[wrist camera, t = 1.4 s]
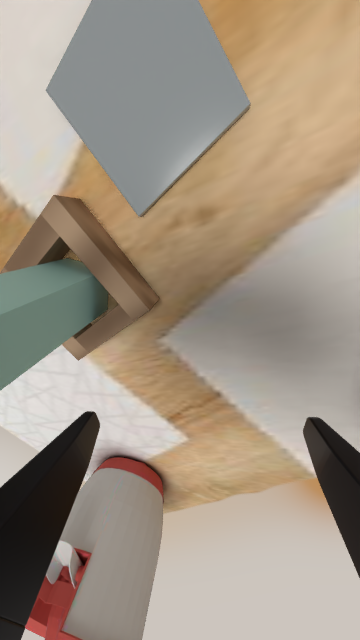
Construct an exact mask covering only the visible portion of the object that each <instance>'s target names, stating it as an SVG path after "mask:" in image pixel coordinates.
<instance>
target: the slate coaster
mask: <svg viewBox="0 0 360 640" xmlns="http://www.w3.org/2000/svg"><path fill="white" fill-rule="evenodd" d="M46 92H47V93H48V94H49V96H50V97H51V98H52V100H53V101H54V102H55V104H56V105H57V107H58V108H59V109H60V111H61V112H62V113H63V115H64V116H65V117H66V119H67V120H68V121H69V123H70V124H71V125H72V127H73V128H74V130H75V131H76V132H77V134H78V135H79V136H80V138H81V139H82V140H83V142H84V143H85V144H86V146H87V147H88V149H89V150H90V151H91V153H92V154H93V155H94V157H95V158H96V159H97V161H98V162H99V163H100V165H101V166H102V168H103V169H104V170H105V172H106V173H107V174H108V176H109V177H110V178H111V180H112V181H113V182H114V184H115V185H116V186H117V188H118V189H119V191H120V192H121V193H122V195H123V196H124V197H125V199H126V200H127V201H128V203H129V204H130V205H131V207H132V208H133V210H134V211H135V212H136V214H137V215H138V216H139V217H142V216H143V215H144V214H145V213H146V212H147V211H148V210H149V209H150V208H151V207H152V206H153V205H154V204H155V203H156V202H157V201H158V200H159V199H160V198H161V197H162V196H163V195H164V194H165V193H166V191H167V190H168V189H169V188H170V187H171V186H172V185H173V184H174V183H175V182H176V181H177V180H178V179H179V178H180V177H181V176H182V175H183V174H184V173H185V172H186V171H187V170H188V169H189V168H190V167H191V166H192V165H193V164H194V163H195V162H196V161H197V160H198V159H199V158H200V157H201V156H202V155H203V154H204V153H205V152H206V151H207V150H208V149H209V148H210V147H211V146H212V145H213V144H214V143H215V142H216V141H217V140H218V139H219V138H220V137H221V136H222V135H223V134H224V133H225V132H226V131H227V130H228V129H229V128H230V127H231V126H232V125H233V124H234V123H235V122H236V121H237V120H238V119H239V118H240V117H241V116H242V115H243V114H244V113H245V112H246V111H247V110H248V109H249V108H250V101H249V99H248V97H247V96H246V94H245V92H244V90H243V88H242V86H241V84H240V82H239V80H238V78H237V76H236V74H235V72H234V70H233V68H232V66H231V64H230V62H229V60H228V58H227V56H226V54H225V52H224V50H223V48H222V46H221V44H220V42H219V40H218V38H217V36H216V34H215V32H214V30H213V28H212V26H211V24H210V22H209V21H208V19H207V17H206V15H205V13H204V11H203V9H202V7H201V5H200V3H199V1H198V0H92V1H91V3H90V5H89V7H88V9H87V11H86V13H85V15H84V17H83V19H82V21H81V22H80V24H79V26H78V28H77V30H76V32H75V34H74V36H73V38H72V40H71V42H70V44H69V46H68V48H67V50H66V52H65V54H64V56H63V58H62V59H61V61H60V63H59V65H58V67H57V69H56V71H55V73H54V75H53V77H52V79H51V81H50V83H49V85H48V87H47V89H46Z"/></svg>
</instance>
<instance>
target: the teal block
mask: <svg viewBox="0 0 360 640" xmlns="http://www.w3.org/2000/svg"><path fill="white" fill-rule="evenodd" d="M106 310H108V291H107V290H106V289H105V288H104V286H103V285H102V284H101V283H100V282H99V281H98V280H97V278H96V277H95V276H94V275H93V274H92V273H91V272H90V270H89V269H88V268H87V267H86V266H85V265H84V263H83V262H80V261H77V260H73V259H69V258H65V259H61V260H57V261H53V262H49V263H44V264H40V265H36V266H32V267H27V268H23V269H19V270H15V271H10V272H6V273H2V274H0V390H2V389H3V388H4V387H6V386H7V385H8V384H10V383H11V382H12V381H14V380H15V379H16V378H18V377H19V376H20V375H22V374H23V373H24V372H26V371H27V370H28V369H29V368H31V367H32V366H33V365H35V364H36V363H37V362H39V361H40V360H41V359H43V358H44V357H45V356H47V355H48V354H49V353H51V352H52V351H53V350H55V349H56V348H57V347H59V346H60V345H61V344H63V343H64V342H65V341H67V340H68V339H69V338H71V337H72V336H73V335H75V334H76V333H77V332H78V331H80V330H81V329H82V328H84V327H85V326H86V325H88V324H89V323H90V322H92V321H93V320H94V319H96V318H97V317H98V316H100V315H101V314H102V313H104V312H105V311H106Z"/></svg>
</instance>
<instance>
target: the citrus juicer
mask: <svg viewBox="0 0 360 640" xmlns="http://www.w3.org/2000/svg"><path fill="white" fill-rule="evenodd" d="M163 503H164V498H163V486H162V481H161V479H160V478H159V476H158V475H157V474H156V473H155V472H154V471H153V470H151V469H150V468H149V467H147V465H146V464H145V463H143V462H137V461H134V460H131V459H127V458H120V457H115V458H110V459H107V460H106V461H105V462H104V463H102V464H101V465H100V466H99V467H98V468H97V469H96V470H95V471H94V472H93V474H92V476H91V477H90V478H89V479H88V481H87V482H86V483H85V484H84V485H83V487H82V488H81V489H80V491H79V492H78V494H77V497H76V499H75V502H74V504H73V507H72V510H71V512H70V515H69V517H68V520H67V522H66V525H65V527H64V530H63V533H62V535H61V538H60V540H59V543H58V545H57V548H56V550H55V553H54V555H53V558H52V561H51V563H50V566H49V568H48V571H47V573H46V576H45V578H44V581H43V584H42V586H41V589H40V591H39V594H38V596H37V599H36V601H35V604H34V607H33V609H32V612H31V614H30V617H29V619H28V622H27V624H26V626H25V628H26V629H28V630H30V631H32V632H34V633H36V634H38V635H40V636H42V637H44V638H45V640H142V636H143V631H144V626H145V621H146V616H147V611H148V606H149V601H150V596H151V591H152V585H153V581H154V576H155V571H156V566H157V560H158V556H159V549H160V543H161V537H162V525H163Z"/></svg>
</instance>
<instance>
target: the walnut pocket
mask: <svg viewBox="0 0 360 640" xmlns="http://www.w3.org/2000/svg"><path fill="white" fill-rule="evenodd" d="M70 249H71V250H72V251H73V252H74V253H75V254H76V255H77V257H78V258H79V259H80V260H81V261H82V262H83V263H84V265H85V266H86V267H87V268H88V269H89V270H90V272H91V273H92V274H93V275H94V276H95V277H96V278H97V280H98V281H99V282H100V283H101V284H102V285H103V286H104V288H105V289H106V290H107V291H108V292H109V293H110V295H111V296H112V297H113V298H114V299H115V300H116V301H117V303H118V304H119V305H117V306H116V307H115V308H114V309H112V310H111V311H110V312H109V313H107V314H106V315H105V316H104V317H102V318H101V319H100V320H99V321H97V322H96V323H95V324H94V325H91V324H90V323H89V324H88V325H86V326H85V327H84V328H82V329H81V330H80V331H78V332H77V333H76V334H75V335H73V336H72V337H71V338H69V339H68V340H67V341H65V342H64V343H63V344H62V345H63V346H64V347H65V348H66V349H67V350H68V351H69V352H70V353H71V354H72V355H73V356H74V357H75V358H76V359H77V360H78V361H79V360H80V359H81V358H83V357H84V356H86V355H87V354H89V353H90V352H91V351H93V350H94V349H96V348H97V347H98V346H100V345H101V344H103V343H104V342H105V341H107V340H108V339H110V338H111V337H113V336H114V335H115V334H117V333H118V332H120V331H121V330H122V329H124V328H125V327H127V326H128V325H130V324H131V323H132V322H134V321H135V320H137V319H138V318H139V317H141V316H142V315H144V314H145V313H146V312H148V311H149V310H150V309H151V308H152V307H153V306H154V304H155V303H156V302H157V301H158V300H159V297H158V296H157V295H156V294H155V292H154V291H153V290H152V289H151V287H150V286H149V285H148V284H147V282H146V281H145V280H144V279H143V277H142V276H141V275H140V274H139V272H138V271H137V270H136V269H135V267H134V266H133V265H132V264H131V262H130V261H129V260H128V259H127V257H126V256H125V255H124V254H123V252H122V251H121V250H120V249H119V247H118V246H117V245H116V244H115V242H114V241H113V240H112V239H111V237H110V236H109V235H108V234H107V232H106V231H105V230H104V229H103V227H102V226H101V225H100V224H99V222H98V221H97V220H96V219H95V217H94V216H93V215H92V214H91V212H90V211H89V210H88V209H87V207H86V206H85V205H84V204H83V202H82V201H81V200H80V199H77V198H71V197H64V196H57V195H53V197H52V198H51V200H50V201H49V202H48V204H47V205H46V207H45V208H44V210H43V211H42V213H41V214H40V216H39V217H38V218H37V220H36V221H35V223H34V224H33V226H32V227H31V229H30V230H29V232H28V233H27V234H26V236H25V237H24V239H23V240H22V242H21V243H20V245H19V246H18V248H17V249H16V250H15V252H14V253H13V255H12V256H11V258H10V259H9V261H8V262H7V264H6V265H5V267H4V268H3V269H2V271H1V272H0V274H2V273H6V272H10V271H15V270H19V269H23V268H27V267H32V266H36V265H40V264H44V263H49V262H53V261H57V260H61V259H62V258H63V257H64V256H65V255H66V253H67V252H68V251H69V250H70Z"/></svg>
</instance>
